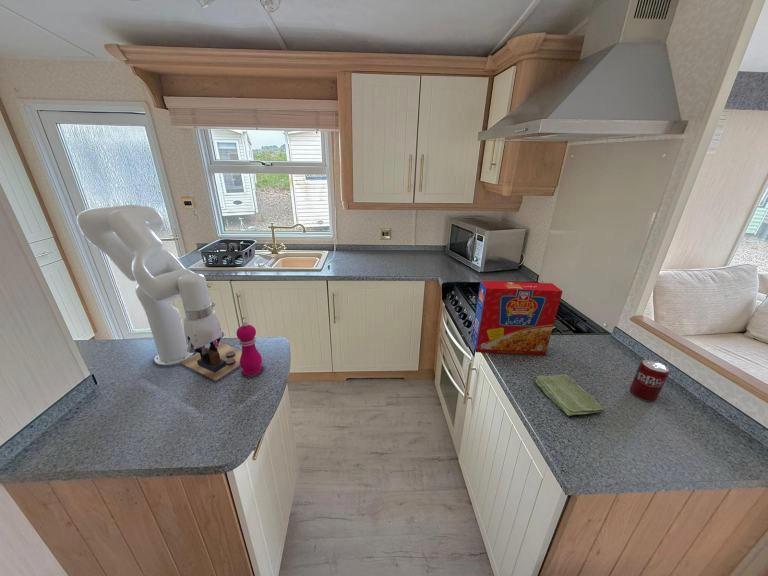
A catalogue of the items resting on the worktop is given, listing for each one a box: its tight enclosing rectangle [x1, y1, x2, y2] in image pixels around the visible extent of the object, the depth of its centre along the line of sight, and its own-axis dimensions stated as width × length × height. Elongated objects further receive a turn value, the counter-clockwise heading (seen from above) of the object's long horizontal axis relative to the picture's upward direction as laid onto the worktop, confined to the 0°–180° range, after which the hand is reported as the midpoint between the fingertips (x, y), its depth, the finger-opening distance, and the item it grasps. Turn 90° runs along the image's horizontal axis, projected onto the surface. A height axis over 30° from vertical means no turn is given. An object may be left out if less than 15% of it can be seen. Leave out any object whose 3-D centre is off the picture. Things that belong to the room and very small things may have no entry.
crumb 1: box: [226, 351, 235, 358], centre depth 115 cm, size 3×3×1 cm
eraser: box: [197, 347, 227, 373], centre depth 105 cm, size 9×4×6 cm, turn 63°
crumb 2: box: [226, 358, 236, 365], centre depth 111 cm, size 3×3×1 cm
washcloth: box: [534, 373, 604, 417], centre depth 100 cm, size 13×18×3 cm
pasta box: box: [470, 280, 563, 356], centre depth 121 cm, size 28×8×28 cm, turn 88°
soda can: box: [629, 359, 671, 403], centre depth 100 cm, size 7×7×12 cm
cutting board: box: [179, 341, 242, 381], centre depth 113 cm, size 20×16×1 cm
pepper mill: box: [236, 321, 263, 376], centre depth 104 cm, size 7×7×20 cm
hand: (210, 359), depth 105 cm, fingers closed on eraser, 2 cm apart
